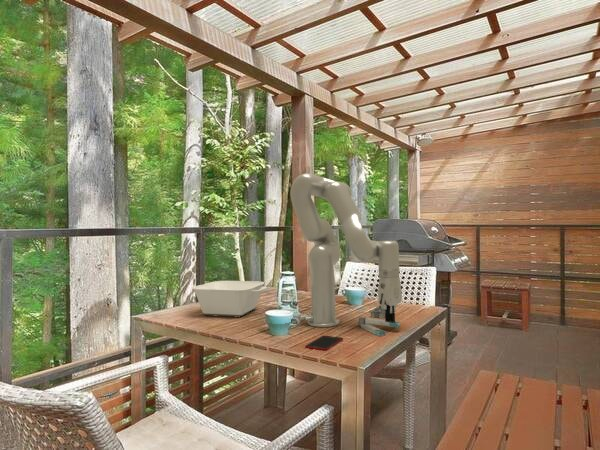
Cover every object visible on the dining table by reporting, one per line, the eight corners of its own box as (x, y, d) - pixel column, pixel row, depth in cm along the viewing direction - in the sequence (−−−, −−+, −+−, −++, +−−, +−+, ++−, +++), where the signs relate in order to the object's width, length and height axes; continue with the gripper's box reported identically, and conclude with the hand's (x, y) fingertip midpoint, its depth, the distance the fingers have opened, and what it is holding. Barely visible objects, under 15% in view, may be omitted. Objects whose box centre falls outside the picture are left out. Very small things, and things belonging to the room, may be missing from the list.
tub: (181, 318, 183) (180, 288, 183) (210, 306, 208) (210, 280, 208) (254, 321, 173) (253, 290, 173) (275, 308, 199) (274, 281, 199)
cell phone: (344, 340, 143) (343, 337, 143) (326, 352, 130) (326, 349, 130) (323, 338, 147) (323, 335, 147) (304, 349, 134) (304, 346, 134)
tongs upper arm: (365, 323, 159) (365, 319, 159) (368, 321, 161) (368, 317, 161) (397, 327, 151) (397, 323, 151) (400, 326, 153) (400, 322, 153)
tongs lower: (357, 325, 162) (357, 317, 162) (363, 325, 163) (363, 316, 163) (378, 336, 146) (378, 326, 146) (385, 335, 147) (385, 326, 147)
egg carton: (380, 313, 186) (380, 303, 186) (395, 315, 181) (395, 305, 181) (367, 317, 177) (367, 307, 177) (383, 319, 173) (383, 309, 173)
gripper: (388, 276, 149) (389, 328, 149) (407, 272, 160) (408, 320, 160) (369, 275, 153) (371, 325, 153) (389, 271, 165) (390, 318, 165)
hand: (390, 323), depth 157 cm, fingers closed
